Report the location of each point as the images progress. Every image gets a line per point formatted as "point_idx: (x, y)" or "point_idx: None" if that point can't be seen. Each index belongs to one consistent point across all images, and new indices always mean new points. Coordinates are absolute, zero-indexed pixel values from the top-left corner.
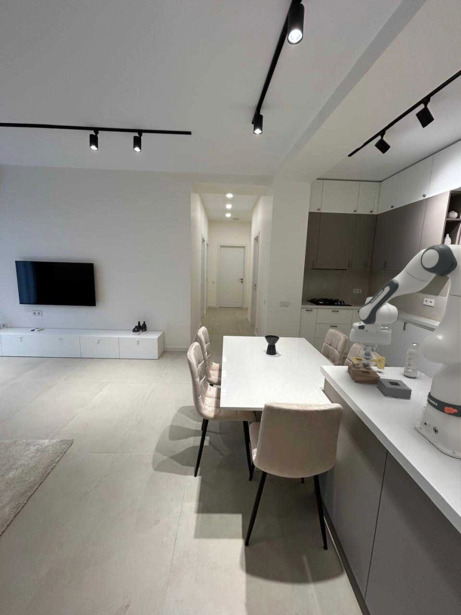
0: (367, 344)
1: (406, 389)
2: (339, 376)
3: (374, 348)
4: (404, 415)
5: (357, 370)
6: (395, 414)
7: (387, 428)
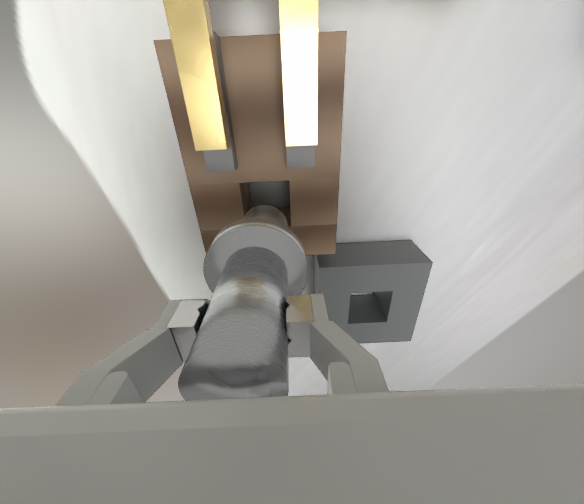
0: (208, 389)
1: (391, 341)
2: (139, 181)
3: (317, 358)
4: (322, 387)
5: (220, 196)
6: (301, 388)
7: None
